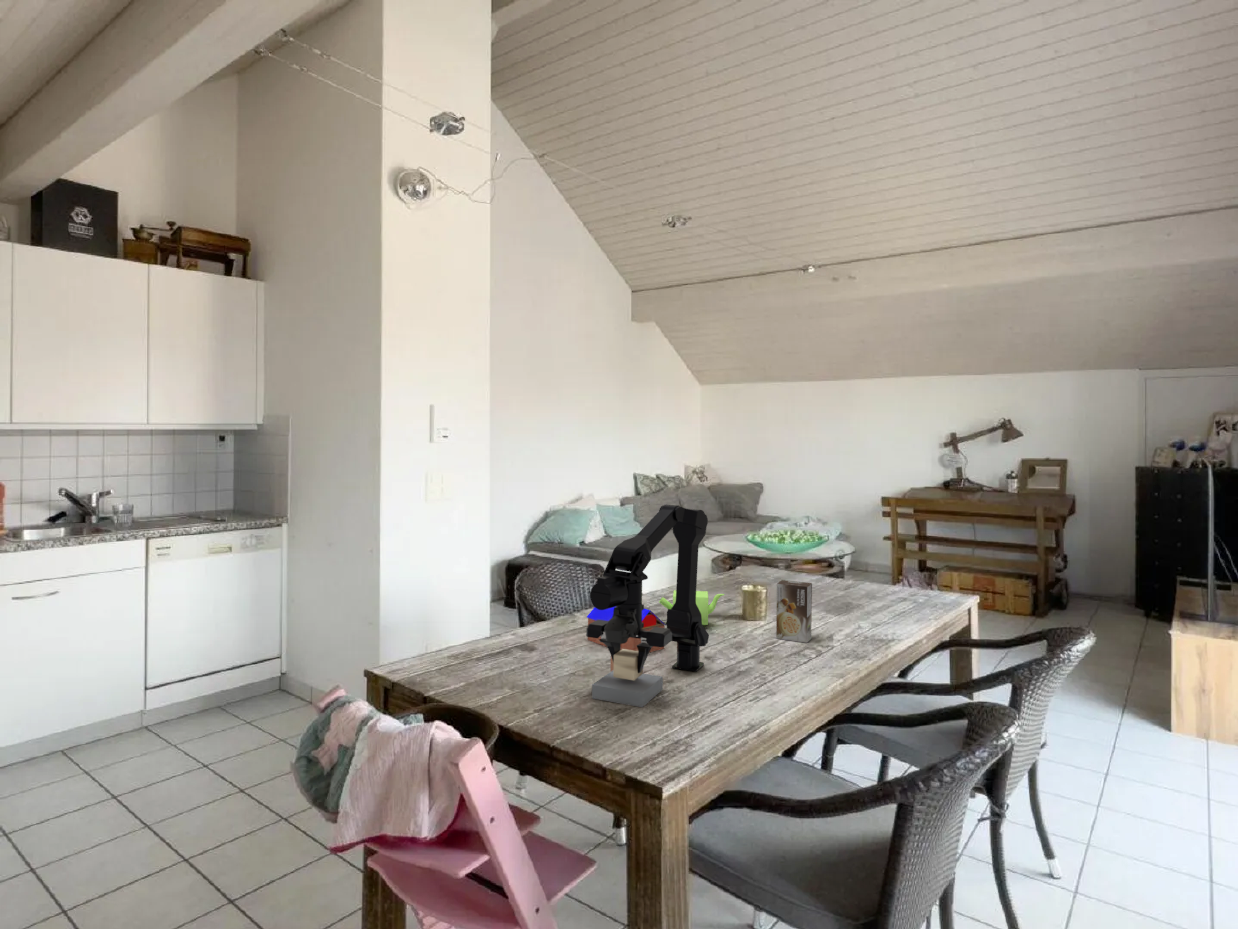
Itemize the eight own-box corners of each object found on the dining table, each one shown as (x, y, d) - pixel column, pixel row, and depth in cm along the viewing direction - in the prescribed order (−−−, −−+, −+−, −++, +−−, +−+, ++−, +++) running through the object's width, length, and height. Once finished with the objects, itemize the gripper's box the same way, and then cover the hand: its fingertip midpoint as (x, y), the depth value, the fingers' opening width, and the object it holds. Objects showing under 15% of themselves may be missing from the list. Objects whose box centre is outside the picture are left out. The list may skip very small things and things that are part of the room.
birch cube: (622, 670, 165) (622, 648, 165) (642, 673, 163) (643, 651, 163) (613, 677, 161) (613, 654, 160) (634, 680, 159) (634, 658, 158)
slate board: (614, 681, 170) (614, 669, 170) (662, 689, 165) (662, 676, 165) (591, 698, 159) (592, 684, 159) (642, 707, 154) (642, 693, 154)
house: (632, 657, 189) (633, 613, 189) (586, 640, 204) (586, 599, 204) (665, 649, 197) (666, 607, 196) (618, 633, 212) (619, 593, 212)
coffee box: (812, 638, 209) (813, 582, 208) (807, 643, 203) (808, 586, 203) (780, 633, 213) (782, 579, 213) (774, 638, 208) (776, 583, 207)
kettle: (724, 626, 221) (725, 589, 220) (692, 634, 211) (693, 596, 211) (688, 616, 232) (689, 581, 231) (656, 623, 223) (657, 587, 222)
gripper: (575, 604, 158) (574, 675, 158) (654, 614, 150) (653, 688, 151) (597, 594, 168) (596, 661, 169) (673, 603, 160) (672, 673, 161)
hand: (628, 671), depth 162 cm, fingers closed on birch cube, 5 cm apart
